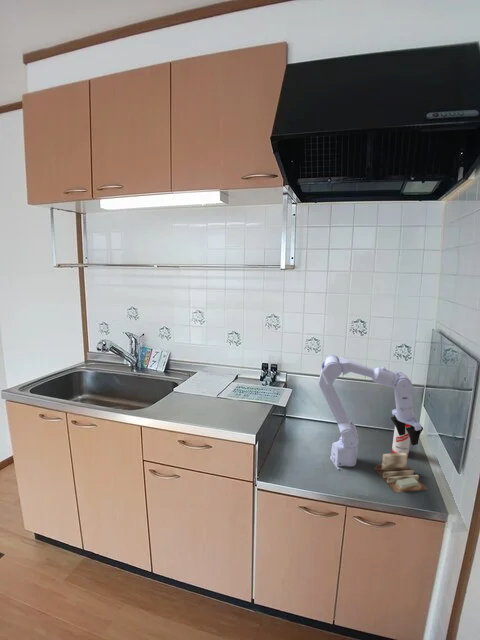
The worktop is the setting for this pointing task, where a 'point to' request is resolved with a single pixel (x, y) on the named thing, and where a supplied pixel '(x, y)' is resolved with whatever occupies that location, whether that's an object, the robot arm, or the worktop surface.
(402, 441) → the beer can
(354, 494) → the worktop surface
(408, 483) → the offcut top
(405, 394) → the robot arm
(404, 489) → the block
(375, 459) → the worktop surface
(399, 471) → the rack
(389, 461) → the tan wooden block
